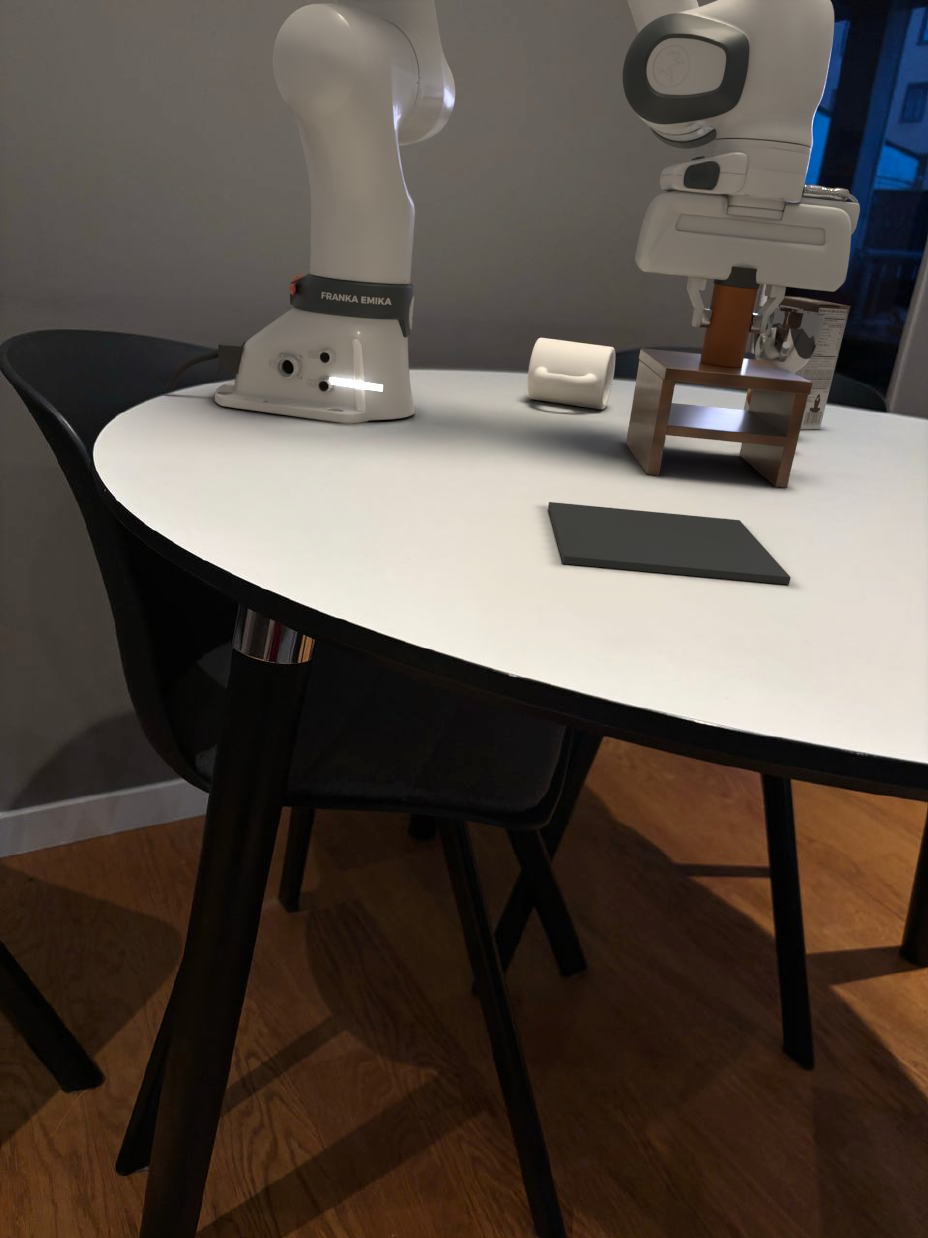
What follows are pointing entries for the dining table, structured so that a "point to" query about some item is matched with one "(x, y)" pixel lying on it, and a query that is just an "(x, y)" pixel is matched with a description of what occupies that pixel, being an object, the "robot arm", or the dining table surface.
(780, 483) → the shelf
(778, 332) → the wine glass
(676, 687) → the dining table surface
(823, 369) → the coffee box
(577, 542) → the mat
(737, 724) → the dining table surface
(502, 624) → the dining table surface
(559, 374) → the mug
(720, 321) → the spice bottle
